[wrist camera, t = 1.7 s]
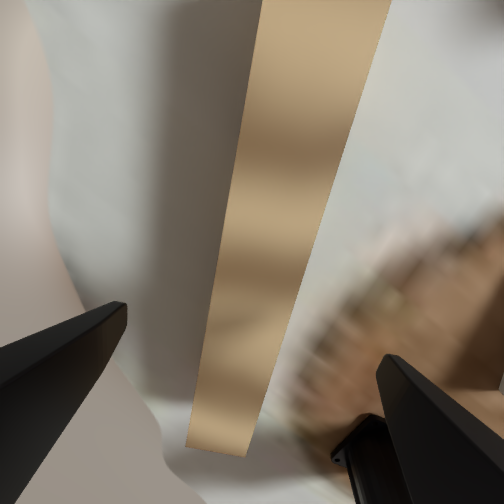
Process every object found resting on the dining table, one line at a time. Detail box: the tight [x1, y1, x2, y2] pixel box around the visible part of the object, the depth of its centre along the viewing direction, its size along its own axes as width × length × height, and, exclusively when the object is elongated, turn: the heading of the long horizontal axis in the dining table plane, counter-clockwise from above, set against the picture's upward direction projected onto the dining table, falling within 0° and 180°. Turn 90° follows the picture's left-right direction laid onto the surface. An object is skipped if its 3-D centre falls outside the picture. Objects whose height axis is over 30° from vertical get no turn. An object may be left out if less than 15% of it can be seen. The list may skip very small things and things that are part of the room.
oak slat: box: [185, 0, 392, 457], centre depth 15 cm, size 26×4×5 cm, turn 168°
